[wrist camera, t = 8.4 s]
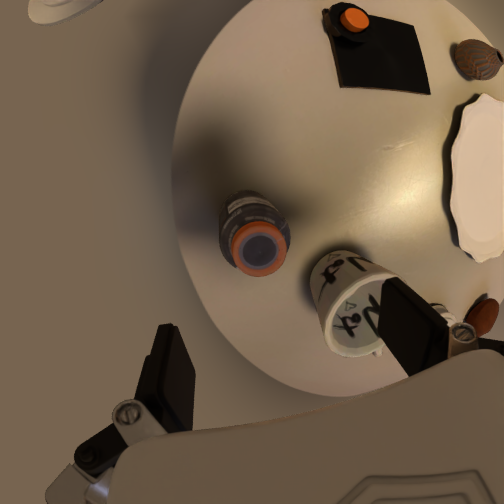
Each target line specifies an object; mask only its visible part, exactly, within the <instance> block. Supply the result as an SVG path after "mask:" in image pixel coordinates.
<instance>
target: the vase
mask: <svg viewBox="0 0 504 504" xmlns="http://www.w3.org/2000/svg"><path fill="white" fill-rule="evenodd" d="M455 60H456V63H457V65H458V67H459V68H460V69H461V71H462V72H464V73H465V74H466V75H467V76H469V77H470V78H473V79H476V80H489V79H491V78H493V77H494V76H496V74H497V73H498V71H499V69H500V67H501V66H502V65H503V64H504V59H503V56H502V54H501V52H500V51H499V50H498V49H495V48H493V47H491V46H489V45H488V44H486V43H484V42H482V41H480V40H475V39H469V40H465V41H462V42H461V43H459V44H458V46H457V47H456V50H455Z"/></svg>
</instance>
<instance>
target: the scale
mask: <svg viewBox="0 0 504 504" xmlns="http://www.w3.org/2000/svg"><path fill="white" fill-rule="evenodd" d="M349 8H356V9H359V10H360V11H362V12H363V13H364V14H365V15H366V16H367V18H368V20H369V25H368V27H366V28H365V29H363V30H362V31H361V32H352V31H349V30H348V29H346V28H345V27H344V26H343V25H342V23H341V21H340V17H341V15H342V14H343V13H344V12H345V11H346V10H347V9H349ZM322 13H323V17H324V21H325V24H326V28H327V31H328V35H329V39H330V42H331V46H332V51H333V55H334V59H335V64H336V68H337V73H338V78H339V83H340V87H341V88H366V89H380V90H391V91H401V92H409V93H416V94H423V95H431V93H430V87H429V82H428V77H427V73H426V68H425V64H424V60H423V56H422V52H421V49H420V45H419V42H418V38H417V35H416V32H415V29H414V26H413V25H409V24H406V23H402V22H398V21H394V20H390V19H386V18H382V17H377V16H372V15H368V14H367V13H366V12H365V11H364V10H363V9H361V8H360V7H358V6H356V5H354V4H351V3H344V2H340V3H337V4H335V5H332V6H331V7H330V8H329V9H323V11H322Z"/></svg>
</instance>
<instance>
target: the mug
mask: <svg viewBox="0 0 504 504" xmlns="http://www.w3.org/2000/svg"><path fill="white" fill-rule="evenodd" d="M392 277H398V278H400V279H401V280H402V281H403V282H404V283H405V284H407V283H406V281H404V280H403V279H402V278H401V277H400V276H399V275H397V274H395V273H393V272H391V271H389V270H387V269H385V268H383V267H381V266H379V265H377V264H375V263H373V262H371V261H369V260H367V259H365V258H363V257H361V256H359V255H357V254H355V253H353V252H349V251H345V250H343V251H334V252H332V253H330V254H327V255H326V256H324V257H323V258H322V259H321V260H319V262H318V263H317V264H316V266H315V267H314V269H313V271H312V274H311V277H310V288H311V291H312V295H313V298H314V302H315V305H316V309H317V313H318V316H319V320H320V324H321V328H322V331H323V335H324V339H325V342H326V344H327V346H328V347H329V348H330V349H331V350H332V351H333V352H334V353H336V354H338V355H341V356H343V357H359V356H364V355H368V354H370V353H372V354H373V355H374V356H376V357H378V356H381V354H382V347H383V346H384V345H386V344H385V343H384V342H383V340H382V339H381V338H380V336H379V335H378V332H377V326H378V318H379V309H380V299H381V288H382V284H383V283H384V281H385V280H386V279H388V278H392Z"/></svg>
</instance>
